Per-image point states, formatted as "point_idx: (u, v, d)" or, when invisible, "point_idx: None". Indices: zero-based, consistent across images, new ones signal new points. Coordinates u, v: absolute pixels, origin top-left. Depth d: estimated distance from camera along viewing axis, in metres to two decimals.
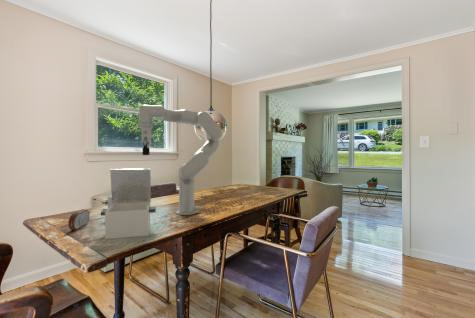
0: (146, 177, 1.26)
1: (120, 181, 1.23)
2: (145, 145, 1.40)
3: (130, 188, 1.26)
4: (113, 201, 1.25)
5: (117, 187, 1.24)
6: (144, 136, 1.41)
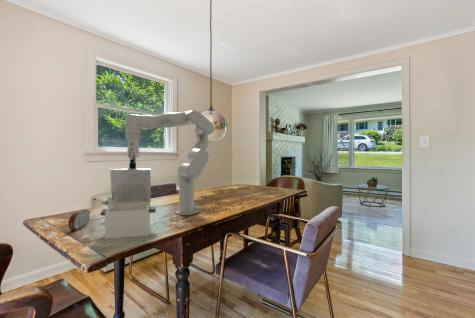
0: (146, 177, 1.26)
1: (120, 181, 1.23)
2: (132, 160, 1.32)
3: (130, 188, 1.26)
4: (113, 201, 1.25)
5: (117, 187, 1.24)
6: (130, 148, 1.29)
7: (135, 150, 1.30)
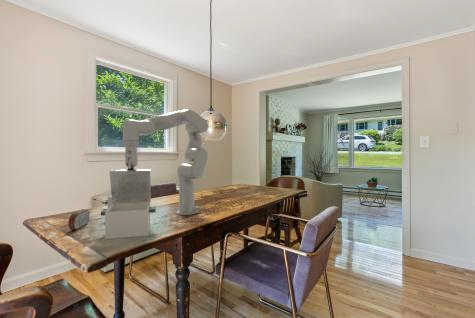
0: (146, 178, 1.25)
1: (119, 182, 1.22)
2: (130, 169, 1.23)
3: (130, 189, 1.25)
4: (113, 201, 1.25)
5: (117, 188, 1.23)
6: (128, 156, 1.20)
7: (133, 158, 1.21)
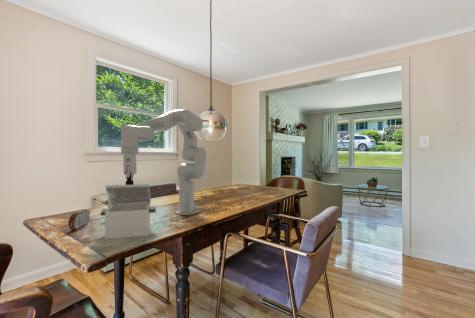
0: (145, 190, 1.19)
1: (117, 193, 1.17)
2: (129, 178, 1.15)
3: (129, 196, 1.21)
4: (113, 202, 1.24)
5: (115, 196, 1.19)
6: (126, 164, 1.13)
7: (132, 166, 1.14)
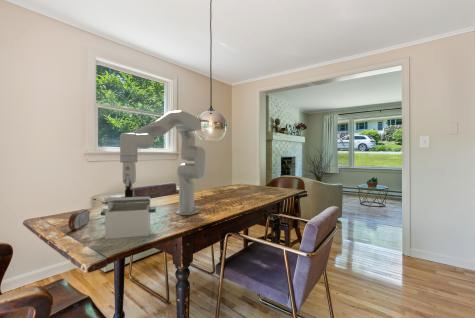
0: None
1: (117, 201, 1.15)
2: (128, 187, 1.13)
3: (129, 201, 1.20)
4: (113, 203, 1.24)
5: (115, 202, 1.18)
6: (126, 173, 1.11)
7: (131, 175, 1.11)
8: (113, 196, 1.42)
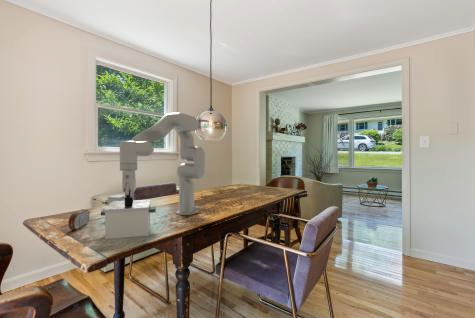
0: None
1: None
2: (128, 195, 1.12)
3: None
4: None
5: None
6: (125, 182, 1.10)
7: (131, 184, 1.11)
8: (113, 196, 1.42)
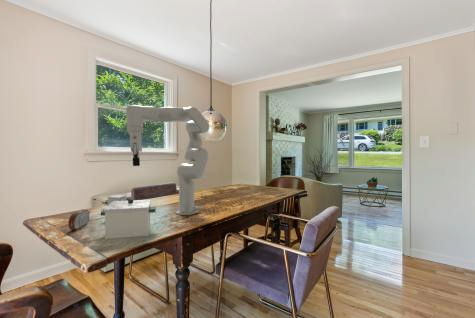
0: None
1: None
2: (135, 155, 1.23)
3: None
4: None
5: None
6: (133, 142, 1.20)
7: (138, 144, 1.21)
8: (113, 196, 1.42)
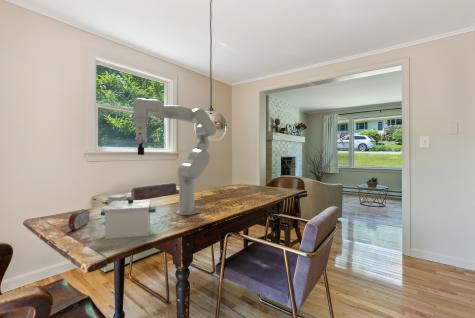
0: None
1: None
2: (140, 144, 1.32)
3: None
4: None
5: None
6: (139, 132, 1.30)
7: (143, 134, 1.30)
8: (113, 196, 1.42)
